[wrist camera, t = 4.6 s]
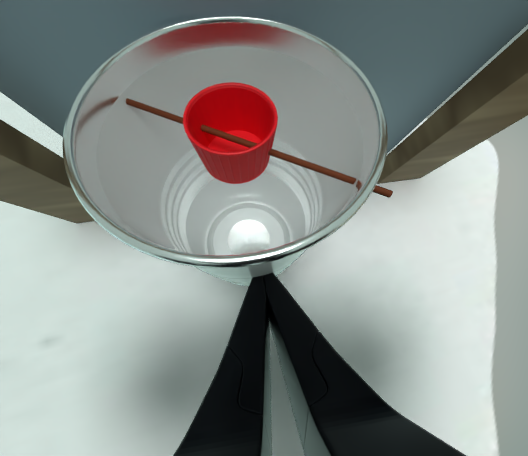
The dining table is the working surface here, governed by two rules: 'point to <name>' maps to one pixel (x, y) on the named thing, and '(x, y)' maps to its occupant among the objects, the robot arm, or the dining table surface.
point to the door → (270, 6)
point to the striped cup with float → (226, 143)
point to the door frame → (396, 163)
